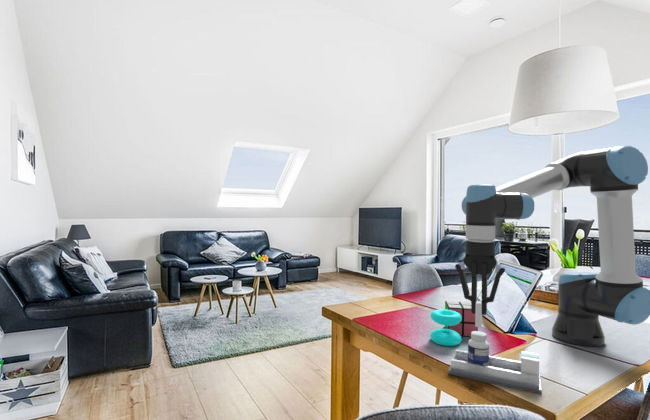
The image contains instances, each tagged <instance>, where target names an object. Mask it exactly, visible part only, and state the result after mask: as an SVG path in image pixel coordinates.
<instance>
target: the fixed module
mask: <svg viewBox="0 0 650 420" xmlns="http://www.w3.org/2000/svg"><path fill="white" fill-rule="evenodd" d="M520 352H521V353H520V361H521V372H522V373H527V374H532V375H537V376H539V372H540V355H539V353H537V352H531V351H525V350H521V351H520Z"/></svg>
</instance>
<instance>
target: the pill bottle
mask: <svg viewBox="0 0 650 420" xmlns="http://www.w3.org/2000/svg"><path fill="white" fill-rule="evenodd" d="M487 336H488V335H487V333H486V332H483V331H481V330H478V331H472V332H471V337H470V339H469V340H468V342H467V352H468V362H471V363H476V364H481V365H486V366H489V356H490V343H489V342H488V341H487V339H488V337H487Z"/></svg>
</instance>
